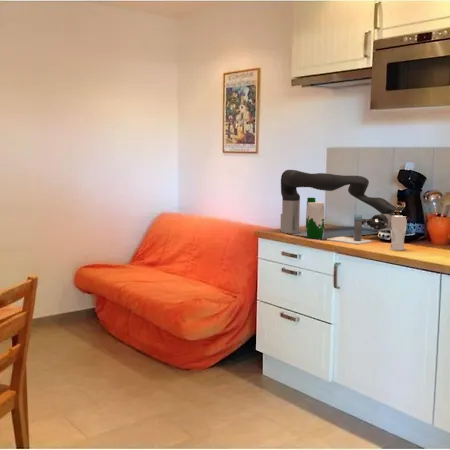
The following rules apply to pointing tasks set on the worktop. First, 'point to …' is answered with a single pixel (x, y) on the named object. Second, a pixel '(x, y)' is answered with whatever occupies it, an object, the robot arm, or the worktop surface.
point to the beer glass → (398, 231)
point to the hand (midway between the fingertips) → (363, 224)
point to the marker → (357, 227)
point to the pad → (349, 240)
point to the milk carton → (314, 218)
